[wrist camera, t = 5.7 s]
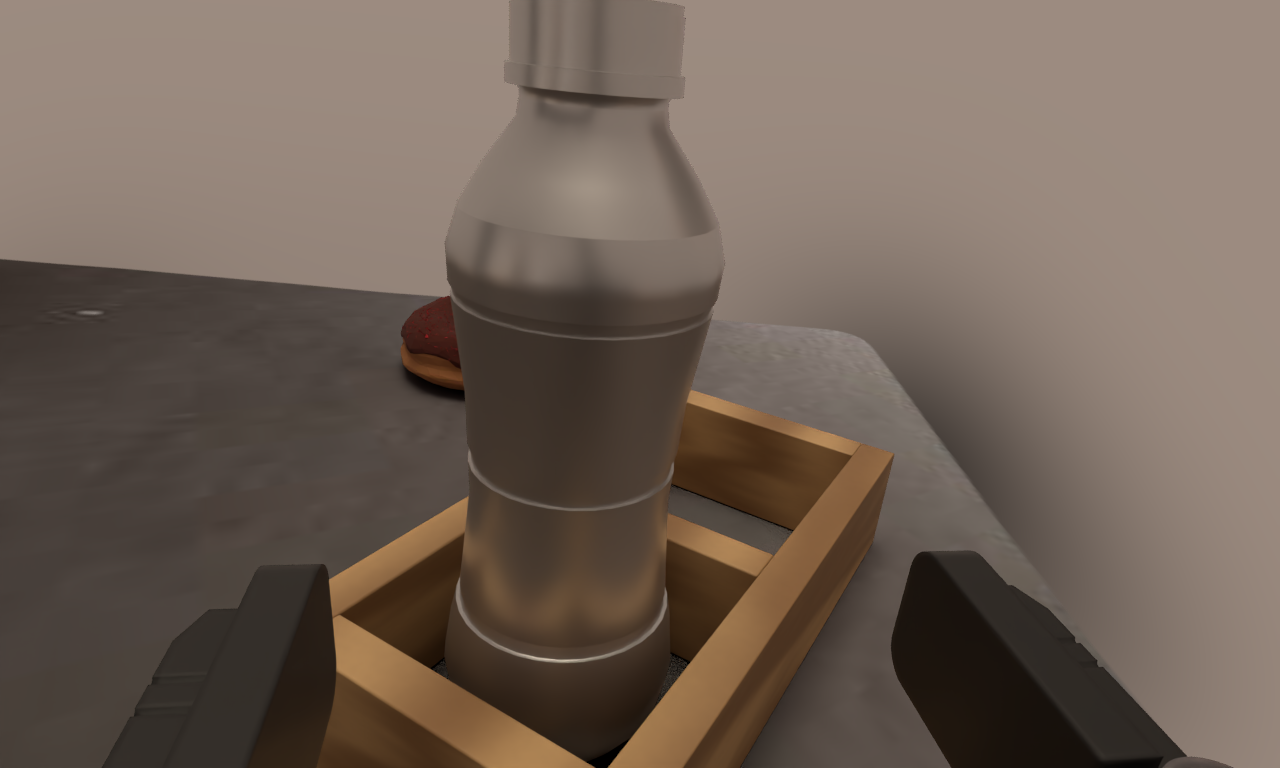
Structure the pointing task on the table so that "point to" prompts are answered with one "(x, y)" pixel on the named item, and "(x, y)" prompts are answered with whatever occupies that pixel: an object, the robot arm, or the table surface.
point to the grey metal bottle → (577, 370)
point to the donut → (433, 345)
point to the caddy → (697, 597)
